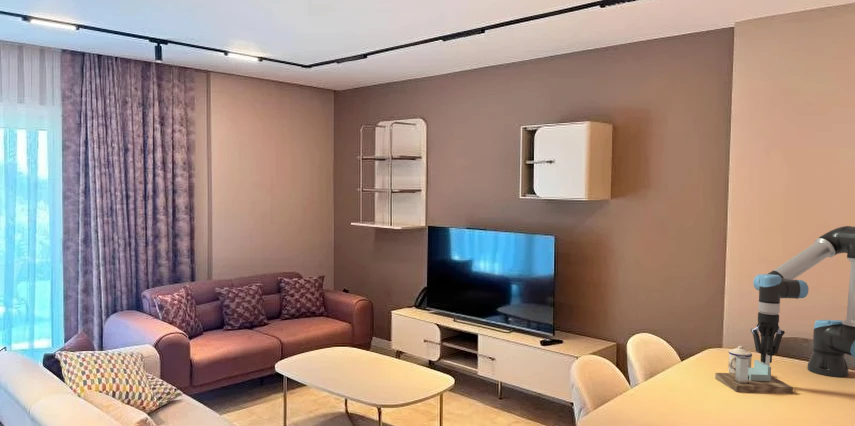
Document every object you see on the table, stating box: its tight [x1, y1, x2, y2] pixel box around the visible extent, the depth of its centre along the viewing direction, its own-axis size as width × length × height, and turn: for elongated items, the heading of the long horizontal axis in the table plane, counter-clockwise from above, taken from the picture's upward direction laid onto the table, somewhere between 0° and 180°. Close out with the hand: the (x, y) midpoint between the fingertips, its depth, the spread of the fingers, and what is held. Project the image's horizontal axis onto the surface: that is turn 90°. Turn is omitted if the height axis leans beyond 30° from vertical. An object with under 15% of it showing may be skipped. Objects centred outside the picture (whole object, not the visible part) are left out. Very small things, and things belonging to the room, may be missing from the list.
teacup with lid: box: [727, 345, 753, 373], centre depth 261 cm, size 12×9×12 cm
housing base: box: [714, 372, 794, 395], centre depth 244 cm, size 22×17×4 cm
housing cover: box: [748, 359, 772, 381], centre depth 247 cm, size 8×10×6 cm
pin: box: [735, 356, 749, 384], centre depth 240 cm, size 3×3×13 cm
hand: (765, 370), depth 247 cm, fingers closed
